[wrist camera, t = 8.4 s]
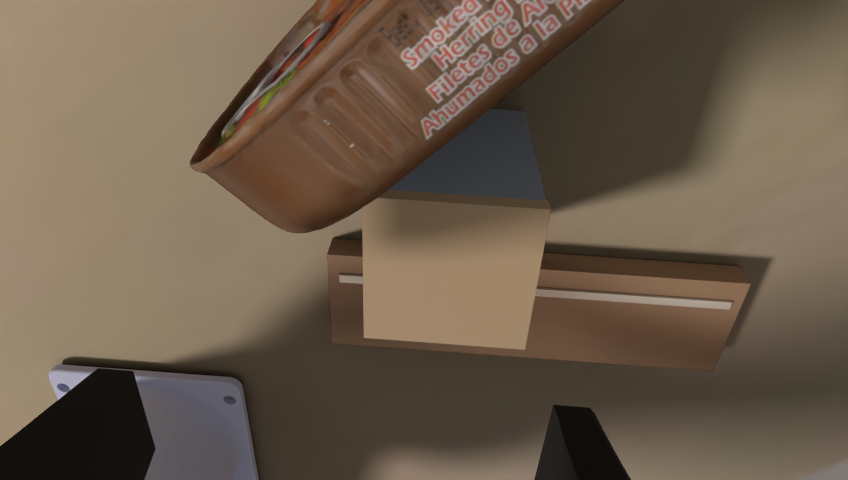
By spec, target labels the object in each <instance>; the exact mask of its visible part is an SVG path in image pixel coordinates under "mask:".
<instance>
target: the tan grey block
mask: <svg viewBox="0 0 848 480" xmlns="http://www.w3.org/2000/svg"><path fill="white" fill-rule="evenodd" d="M550 213H551V207H550V203H549V201H547V200H546V199H545V195H544V190H543V186H542V182H541V177H540V173H539V169H538V165H537V160H536V156H535V152H534V148H533V143H532V139H531V135H530V131H529V126H528V122H527V118H526V114H525V111H514V110H498V109H489V110H488V111H487V112H486V113H484V114H483V115H482V116H481V117H480V118H478V119H477V120H476V121H475V122H473V123H472V124H471V125H470V126H468V127H467V128H466V129H465V130H463V131H462V132H461V133H460V134H458V135H457V136H456V137H455V138H453V139H452V140H451V141H450V142H448V143H447V144H446V145H445V146H443V147H442V148H441V149H440V150H438V151H437V152H435V153H434V154H433V155H431V156H430V157H429V158H428V159H427V160H425V161H424V162H423V163H422V164H420V165H419V166H418V167H417V168H415V169H414V170H413V171H412V172H410V173H409V174H408V175H406V176H405V177H404V178H403V179H401V180H400V181H399V182H398V183H396V184H395V185H394V186H393V187H391V188H390V189H389V190H387V191H386V192H385V193H384V194H382V195H381V196H379V197H378V198H377V199H375V200H374V201H372V202H371V203H369V204H367V205H366V206H364V207H362V243H363V319H364V338H372V339H386V340H399V341H413V342H427V343H440V344H454V345H468V346H481V347H495V348H508V349H522V350H525V347H526V341H527V336H528V331H529V325H530V320H531V315H532V309H533V304H534V299H535V293H536V288H537V283H538V277H539V272H540V267H541V261H542V256H543V251H544V245H545V240H546V235H547V229H548V224H549V219H550Z"/></svg>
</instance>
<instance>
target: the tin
mask: <svg viewBox="0 0 848 480" xmlns="http://www.w3.org/2000/svg"><path fill="white" fill-rule="evenodd" d="M623 1H624V0H317V1H316V2H315V3H314V5H313V6H312V8H310V9H309V10H308V11H307V12H306V13H305V14H304V16H303V17H302V18H301V19H300V20H299V21H298V22H297V23H296V24H295V25H294V27H293V28H292V29H291V30H290V31H289V32H288V33H287V35H286V36H285V37H284V38H283V39H282V40H281V41H280V43H279V44H278V45H277V46H276V47H275V49H274V50H273V51H272V52H271V53H270V54H269V55H268V56H267V58H266V59H265V61H264V62H263V63H262V64H261V65H260V66H259V68H258V69H257V70H256V71H255V72H254V73H253V75H252V76H251V78H250V79H249V80H248V81H247V83H246V84H245V85H244V86H243V87H242V89H241V90H240V91H239V92H238V94H237V95H236V96H235V98H234V99H233V100H232V102H231V103H230V105H229V106H228V107H227V109H226V110H225V111H224V112H223V113H222V115H221V116H220V117H219V118H218V120H217V121H216V122H215V123H214V124H213V126H212V127H211V129H210V130H209V131H208V133H207V135H206V136H205V138H204V139H203V140H202V141H201V142H200V144H199V146H198V148H197V150H196V151H195V154H194V155H193V157H192V159H191V161H190V166H191V168H192V169H193V170H195V171H197V172H201V173H205V174H207V175H208V176H209V177H211V178H212V179H214V180H215V181H216V182H218V183H219V184H220V185H221V186H223V187H224V188H225V189H226V190H228V191H229V192H230V193H232V194H233V195H234V196H235V197H237V198H238V199H239V200H240V201H242V202H243V203H244V204H246V205H247V206H248V207H249V208H251V209H252V210H253V211H255V212H256V213H257V214H259V215H260V216H262V217H263V218H264V219H266V220H267V221H269V222H270V223H272V224H273V225H275V226H277V227H278V228H280V229H282V230H285V231H287V232H291V233H308V232H311V231H315V230H319V229H323V228H325V227H328V226H330V225H332V224H334V223H336V222H338V221H340V220H342V219H344V218H346V217H348V216H350V215H351V214H353V213H354V212H356V211H358V210H359V209H361V208H362V207H364V206H366V205H367V204H369V203H371V202H372V201H374V200H375V199H377V198H378V197H379V196H381V195H382V194H384V193H385V192H386V191H387V190H389V189H390V188H391V187H393V186H394V185H395V184H396V183H398V182H399V181H400V180H401V179H403V178H404V177H405V176H406V175H408V174H409V173H410V172H412V171H413V170H414V169H415V168H417V167H418V166H419V165H420V164H422V163H423V162H424V161H425V160H427V159H428V158H429V157H430V156H431V155H433V154H434V153H435V152H437V151H438V150H440V149H441V148H442V147H443V146H445V145H446V144H447V143H448V142H450V141H451V140H452V139H453V138H455V137H456V136H457V135H458V134H460V133H461V132H462V131H463V130H465V129H466V128H467V127H468V126H470V125H471V124H472V123H473V122H475V121H476V120H477V119H478V118H480V117H481V116H482V115H483V114H484V113H486V112H487V111H488V110H489V109H490V108H492V107H493V106H494V105H495V104H497V103H498V102H499V101H501V100H502V99H503V98H504V97H506V96H507V95H508V94H509V93H511V92H512V91H513V90H514V89H515V88H517V87H518V86H519V85H520V84H521V83H523V82H524V81H526V80H527V79H528V78H530V77H531V76H532V75H534V74H535V73H536V72H537V71H538V70H540V69H541V68H542V67H543V66H544V65H545V64H547V63H548V62H549V61H550V60H551V59H552V58H554V57H555V56H556V55H557V54H559V53H560V52H561V51H562V50H564V49H565V48H566V47H568V46H569V45H570V44H571V43H573V42H574V41H575V40H576V39H578V38H579V37H580V36H581V35H583V34H584V33H585V32H586V31H588V30H589V29H590V28H591V27H592V26H594V25H595V24H596V23H597V22H598V21H600V20H601V19H602V18H603V17H604V16H606V15H607V14H608V13H609V12H611V11H612V10H613V9H614V8H616V7H617V6H618V5H619V4H621V3H622V2H623Z"/></svg>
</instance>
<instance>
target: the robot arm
mask: <svg viewBox="0 0 848 480" xmlns="http://www.w3.org/2000/svg"><path fill="white" fill-rule="evenodd" d="M48 376H49V379H50V382H51V384H52V386H53V389H54V391H55V394H56V396H57V398H58V401H56V402H55V403H54V404H53V405H51V406H50V407H49V408H48V409H46V410H45V411H44V412H43V413H41V414H40V415H39V416H38V417H36V418H35V419H34V420H33V421H32V422H30V423H29V424H28V425H27V426H25V427H24V428H23V429H22V430H20V431H19V432H18V433H17V434H15V435H14V436H13V437H12V438H10V439H9V440H8V441H6V442H5V443H4V444H3V445H1V446H0V480H259V478H258V472H257V466H256V460H255V455H254V449H253V443H252V437H251V432H250V426H249V420H248V414H247V408H246V403H245V397H244V391H243V386H242V384H241V382H239V381H238V380H237V379H235V378H232V377H222V376H209V375H196V374H182V373H169V372H155V371H142V370H128V369H115V368H102V367H88V366H75V365H56V366H54V367H53V368H52V370H51V371H50V372H49V374H48ZM230 396H231V397H230ZM535 480H631V479H630V477H629V476H628V474H627V472H626V470H625V469H624V467H623V465H622V463H621V462H620V460H619V458H618V456H617V455H616V453H615V451H614V449H613V447H612V445H611V444H610V442H609V440H608V438H607V436H606V434H605V432H604V431H603V429H602V427H601V425H600V423H599V421H598V419H597V417H596V415H595V413H594V412H593V411H592V410H591V409H590V408H584V407H572V406H559V405H553V409H552V413H551V417H550V421H549V425H548V429H547V433H546V437H545V441H544V445H543V448H542V452H541V456H540V460H539V464H538V468H537V472H536V476H535Z"/></svg>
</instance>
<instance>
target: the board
mask: <svg viewBox="0 0 848 480" xmlns="http://www.w3.org/2000/svg"><path fill="white" fill-rule="evenodd" d="M327 261H328V280H329V298H330V317H331V336H332V343H333V344H347V345H361V346H375V347H388V348H402V349H416V350H429V351H443V352H457V353H471V354H484V355H498V356H512V357H525V358H539V359H553V360H567V361H580V362H594V363H608V364H621V365H635V366H649V367H663V368H676V369H690V370H704V371H714V368H715V366H716V364H717V361H718V359H719V357H720V354H721V352H722V350H723V347H724V345H725V343H726V341H727V338H728V336H729V334H730V331H731V329H732V327H733V324H734V322H735V320H736V317H737V315H738V313H739V311H740V308H741V306H742V304H743V301H744V299H745V297H746V294H747V292H748V290H749V287H750V285H751V283H750V282H749V280H748V279H747V277H746V276H745V274H744V273H743V271H742V270H741V268H740V267H739V266H729V265H714V264H700V263H685V262H671V261H656V260H641V259H627V258H612V257H598V256H583V255H569V254H554V253H543V256H542V261H541V267H540V272H539V277H538V283H537V288H536V293H535V299H534V304H533V309H532V315H531V320H530V325H529V331H528V336H527V341H526V347H525V350H522V349H508V348H495V347H481V346H468V345H454V344H440V343H427V342H413V341H399V340H386V339H372V338H364V319H363V243H362V240H351V239H336V238H333V239H332V242H331V245H330V248H329V251H328V253H327Z"/></svg>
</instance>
